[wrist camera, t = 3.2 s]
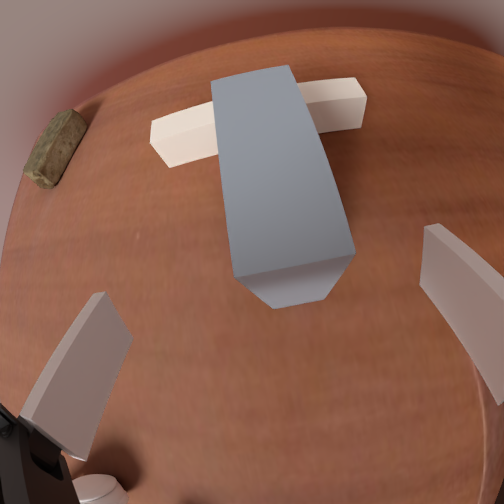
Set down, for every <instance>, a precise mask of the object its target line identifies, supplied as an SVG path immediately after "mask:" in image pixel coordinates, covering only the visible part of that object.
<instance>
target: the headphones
mask: <svg viewBox="0 0 504 504" xmlns="http://www.w3.org/2000/svg"><path fill="white" fill-rule="evenodd" d="M72 482H73V485H74V488H75V491H76V493H77V496H78V499H79V501H80V504H127V503H128V500H129V496H128V494H127V492H126V491H125V490H124V489H123V488H122V486H121V485H120V484H119V483H118V482H117V480H116V478H115V477H113V476H111V475H104V474H91V475H86V476H82V477H79V478H76V479H74V480H72Z"/></svg>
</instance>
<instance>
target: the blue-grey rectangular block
mask: <svg viewBox="0 0 504 504" xmlns="http://www.w3.org/2000/svg"><path fill="white" fill-rule="evenodd" d="M211 90H212V100H213V109H214V119H215V128H216V137H217V146H218V155H219V164H220V172H221V181H222V189H223V197H224V205H225V213H226V221H227V229H228V236H229V244H230V251H231V259H232V266H233V273H234V278H235V279H236V280H238V281H239V282H240V283H241V284H243V285H244V286H245V287H246V288H248V289H249V290H250V291H251V292H253V293H254V294H255V295H256V296H258V297H259V298H260V299H261V300H263V301H264V302H265V303H266V304H268V305H269V306H270V307H271V308H273V309H277V308H282V307H287V306H293V305H298V304H303V303H308V302H313V301H318V300H323V299H325V297H326V296H327V295H328V293H329V292H330V291H331V289H332V288H333V286H334V285H335V284H336V282H337V281H338V279H339V278H340V276H341V275H342V274H343V272H344V271H345V269H346V268H347V266H348V265H349V263H350V262H351V260H352V259H353V257H354V256H355V254H356V251H355V247H354V243H353V239H352V236H351V232H350V229H349V225H348V222H347V218H346V215H345V211H344V208H343V205H342V201H341V198H340V195H339V192H338V189H337V186H336V183H335V180H334V177H333V174H332V171H331V168H330V165H329V162H328V159H327V157H326V154H325V151H324V148H323V146H322V143H321V140H320V138H319V135H318V133H317V130H316V127H315V125H314V122H313V120H312V118H311V115H310V113H309V110H308V108H307V105H306V103H305V101H304V98H303V96H302V94H301V92H300V89H299V87H298V85H297V83H296V80H295V78H294V76H293V74H292V72H291V70H290V68H289V66H288V65H285V66H278V67H272V68H267V69H262V70H256V71H252V72H247V73H242V74H238V75H234V76H230V77H226V78H222V79H218V80H214V81H211Z"/></svg>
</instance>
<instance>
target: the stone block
mask: <svg viewBox="0 0 504 504" xmlns="http://www.w3.org/2000/svg"><path fill="white" fill-rule="evenodd" d="M86 127H87V124H86V122H85V121H84V119H83V118H82V116H81V115H80V114H79V113H78V112H76V111H75V110H73V109H69V110H66V111H64V112H59V113H57V115H56V116H55V117H54V118H53V119H52V120H51V121H50V123H49V125H48V126H47V128H46V129H45V130H44V132H43V134H42V135H41V137H40V139H39V140H38V142H37V144H36V146H35V148H34V149H33V151H32V153H31V155H30V157H29V159H28V161H27V163H26V165H25V166H24V169H23V172H24V174H25V175H27V176H28V177H29V178H30V179H31V180H32V181H34V183H36V184H37V185H38V186H39V187H41V188H44V189H45V188H48V189H52V188H53V187H54V186H55V184H56V183H57V182H58V181H59V179H60V176H61V175H62V173H63V172H64V170H65V168H66V166H67V164H68V162H69V160H70V158H71V157H72V154H73V152H74V151H75V149H76V147H77V145H78V143H79V142H80V140H81V138H82V137H83V135H84V133H85V131H86Z"/></svg>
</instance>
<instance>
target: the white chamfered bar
mask: <svg viewBox="0 0 504 504" xmlns="http://www.w3.org/2000/svg"><path fill="white" fill-rule="evenodd" d="M297 85H298V87H299V89H300V92H301V94H302V96H303V98H304V101H305V103H306V105H307V108H308V110H309V113H310V115H311V118H312V120H313V122H314V125H315V127H316V130H317V133H325V132H332V131H339V130H347V129H355V128H361V125H362V121H363V116H364V111H365V106H366V101H367V96H366V94H365V93H364V91H363V89H362V88H361V86H360V85H359V83H358V82H357V80H356V78H355V77H354V78H340V79H329V80H319V81H311V82H303V83H297ZM150 144H151V145H152V146H153V148H154V149H155V150H156V151H157V153H158V154H159V155H160V156H161V158H162V159H163V160H164V162H165V163H166V164H167V165H168V167H169V168H171V167H174V166H177V165H181V164H184V163H188V162H191V161H195V160H198V159H202V158H205V157H209V156H213V155H217V154H218V146H217V137H216V128H215V119H214V109H213V101H212V102H208V103H205V104H201V105H198V106H194V107H191V108H188V109H185V110H182V111H179V112H176V113H173V114H170V115H167V116H164V117H161V118H159V119H156V120H153V121H152V125H151V136H150Z"/></svg>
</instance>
